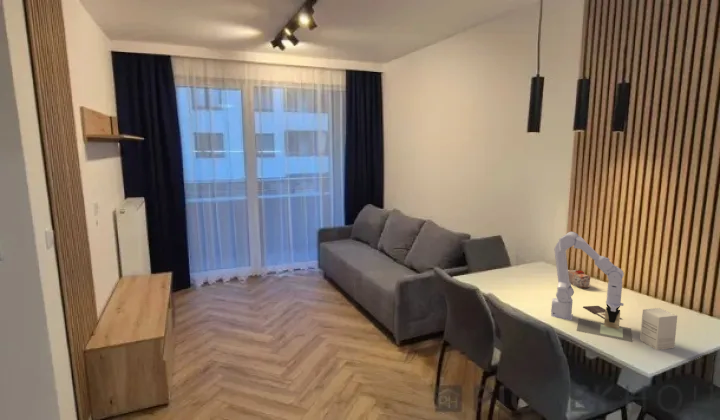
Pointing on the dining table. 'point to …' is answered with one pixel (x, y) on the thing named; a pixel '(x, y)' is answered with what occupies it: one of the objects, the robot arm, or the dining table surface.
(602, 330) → the mat
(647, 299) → the dining table surface
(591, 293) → the dining table surface
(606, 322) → the tile
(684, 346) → the dining table surface
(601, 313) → the chocolate bar
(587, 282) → the food item
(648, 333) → the supplement box
